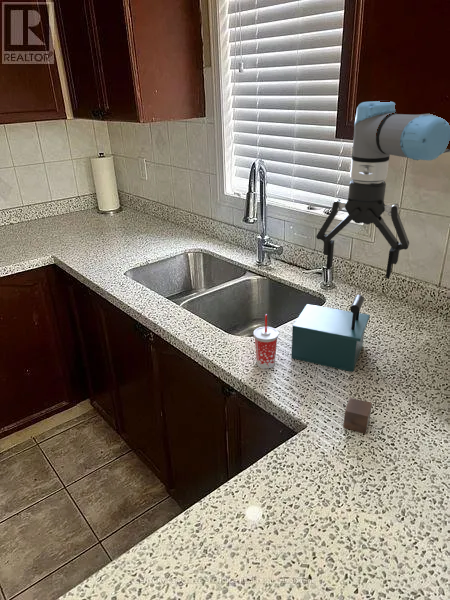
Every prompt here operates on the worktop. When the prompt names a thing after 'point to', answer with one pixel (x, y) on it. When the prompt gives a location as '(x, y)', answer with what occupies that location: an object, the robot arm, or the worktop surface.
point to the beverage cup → (265, 345)
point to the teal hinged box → (325, 349)
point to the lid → (334, 320)
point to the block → (357, 415)
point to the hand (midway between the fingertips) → (357, 271)
